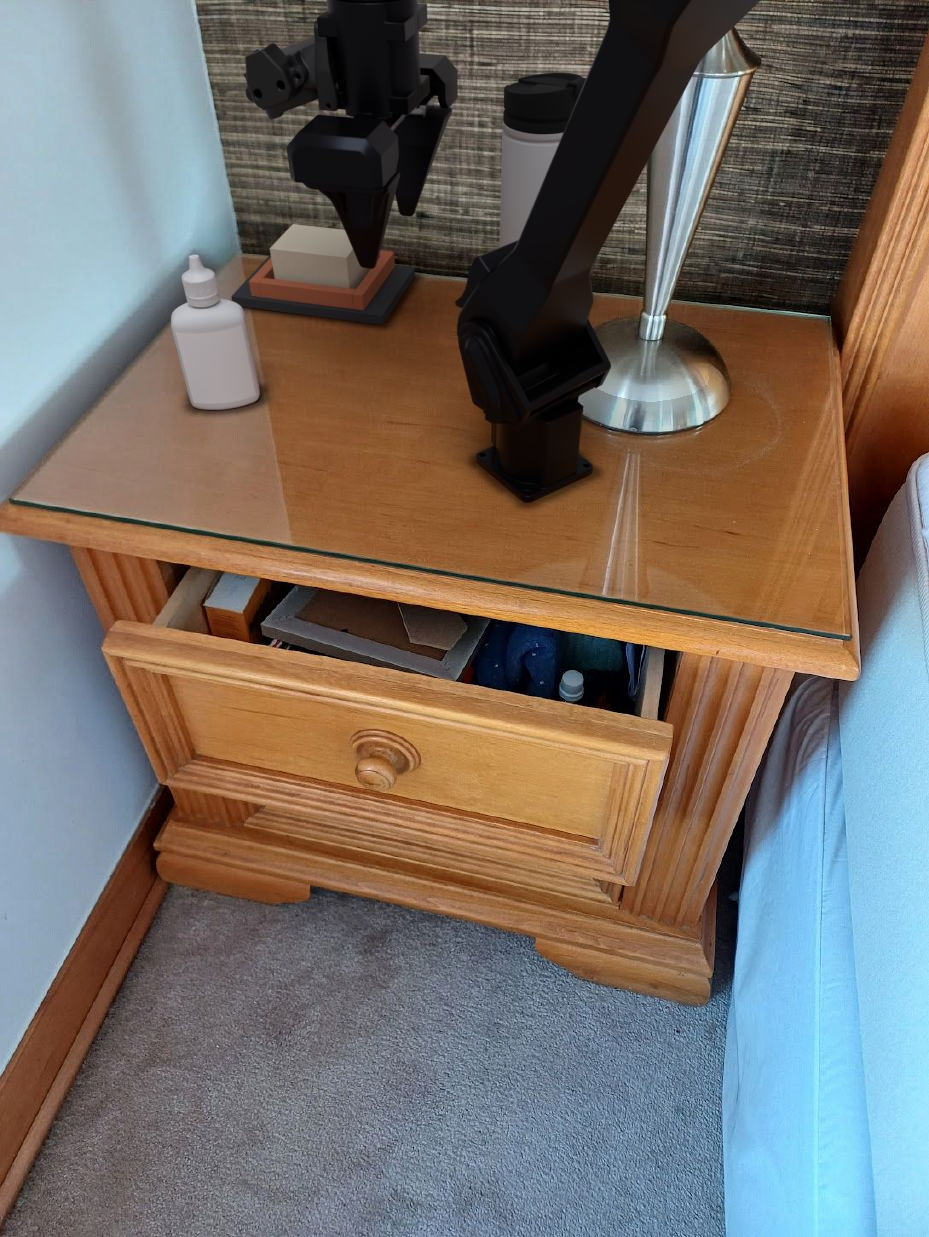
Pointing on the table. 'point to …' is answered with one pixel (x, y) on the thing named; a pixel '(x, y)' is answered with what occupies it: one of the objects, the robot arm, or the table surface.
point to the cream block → (316, 257)
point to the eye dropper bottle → (213, 344)
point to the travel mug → (531, 141)
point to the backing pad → (329, 293)
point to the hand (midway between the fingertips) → (388, 240)
